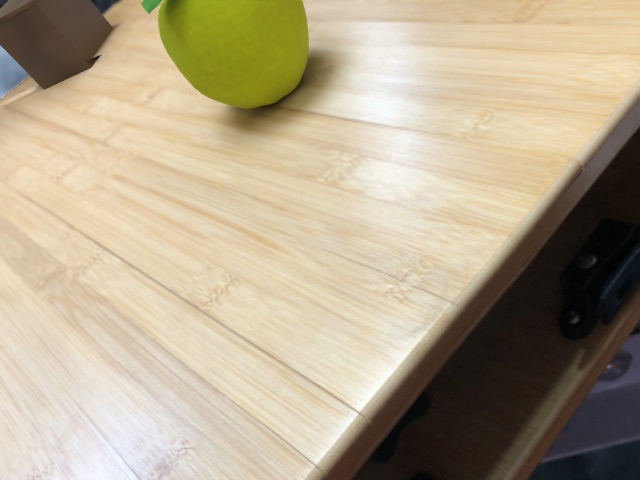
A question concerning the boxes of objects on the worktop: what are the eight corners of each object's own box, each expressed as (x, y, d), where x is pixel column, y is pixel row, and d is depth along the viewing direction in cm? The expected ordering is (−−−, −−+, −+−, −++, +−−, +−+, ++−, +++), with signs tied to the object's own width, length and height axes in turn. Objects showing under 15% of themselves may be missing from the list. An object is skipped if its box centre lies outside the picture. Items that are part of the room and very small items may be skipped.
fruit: (203, 146, 44) (97, 18, 38) (256, 65, 49) (171, -61, 42) (306, 125, 40) (206, -25, 33) (353, 38, 45) (275, -109, 38)
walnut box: (41, 91, 72) (-20, 28, 67) (70, 53, 77) (15, -8, 72) (91, 67, 69) (32, 0, 64) (118, 30, 74) (65, -36, 69)
